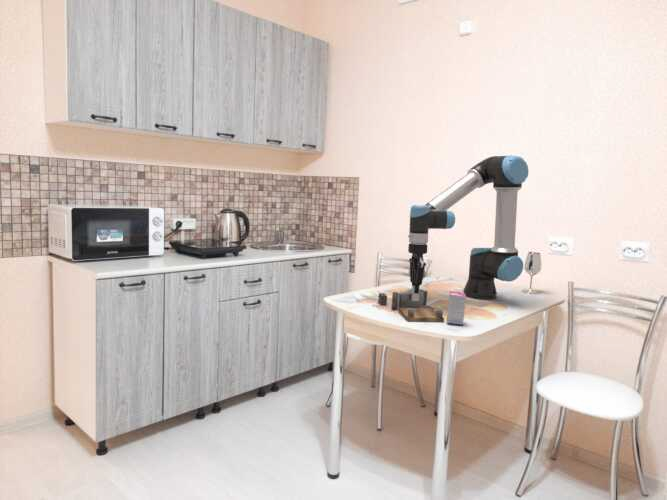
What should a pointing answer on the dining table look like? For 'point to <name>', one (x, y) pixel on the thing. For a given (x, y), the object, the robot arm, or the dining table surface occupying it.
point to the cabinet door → (417, 312)
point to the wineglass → (532, 268)
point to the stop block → (382, 299)
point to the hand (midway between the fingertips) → (415, 300)
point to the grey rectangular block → (406, 301)
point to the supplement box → (456, 308)
